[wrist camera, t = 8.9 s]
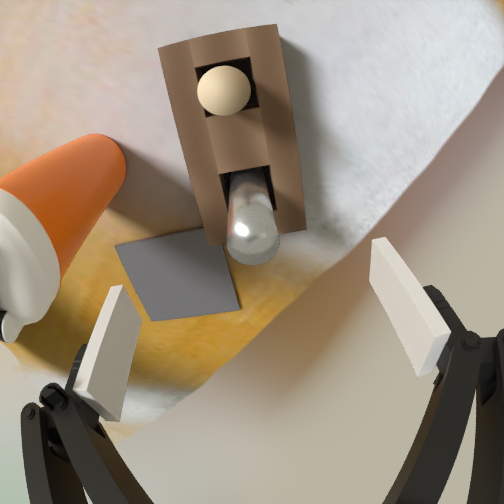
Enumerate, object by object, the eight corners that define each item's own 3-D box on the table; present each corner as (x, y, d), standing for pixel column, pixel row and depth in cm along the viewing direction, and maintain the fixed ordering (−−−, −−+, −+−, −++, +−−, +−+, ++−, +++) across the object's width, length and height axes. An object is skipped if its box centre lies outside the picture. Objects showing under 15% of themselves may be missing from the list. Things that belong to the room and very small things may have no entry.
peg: (234, 195, 29) (232, 268, 19) (227, 164, 28) (221, 225, 18) (266, 189, 29) (282, 260, 19) (261, 158, 27) (275, 216, 18)
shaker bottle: (133, 120, 25) (-16, 223, 8) (139, 206, 29) (54, 368, 13) (56, 129, 24) (-94, 227, 7) (67, 207, 29) (-37, 341, 12)
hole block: (212, 225, 31) (209, 246, 28) (169, 51, 21) (157, 48, 18) (298, 210, 31) (306, 229, 27) (271, 31, 21) (276, 23, 17)
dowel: (215, 104, 24) (203, 120, 16) (208, 73, 23) (192, 72, 14) (249, 97, 24) (255, 110, 16) (242, 66, 23) (245, 61, 14)
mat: (152, 319, 38) (151, 321, 38) (115, 245, 32) (114, 246, 32) (240, 307, 38) (239, 310, 37) (217, 224, 31) (216, 226, 31)
